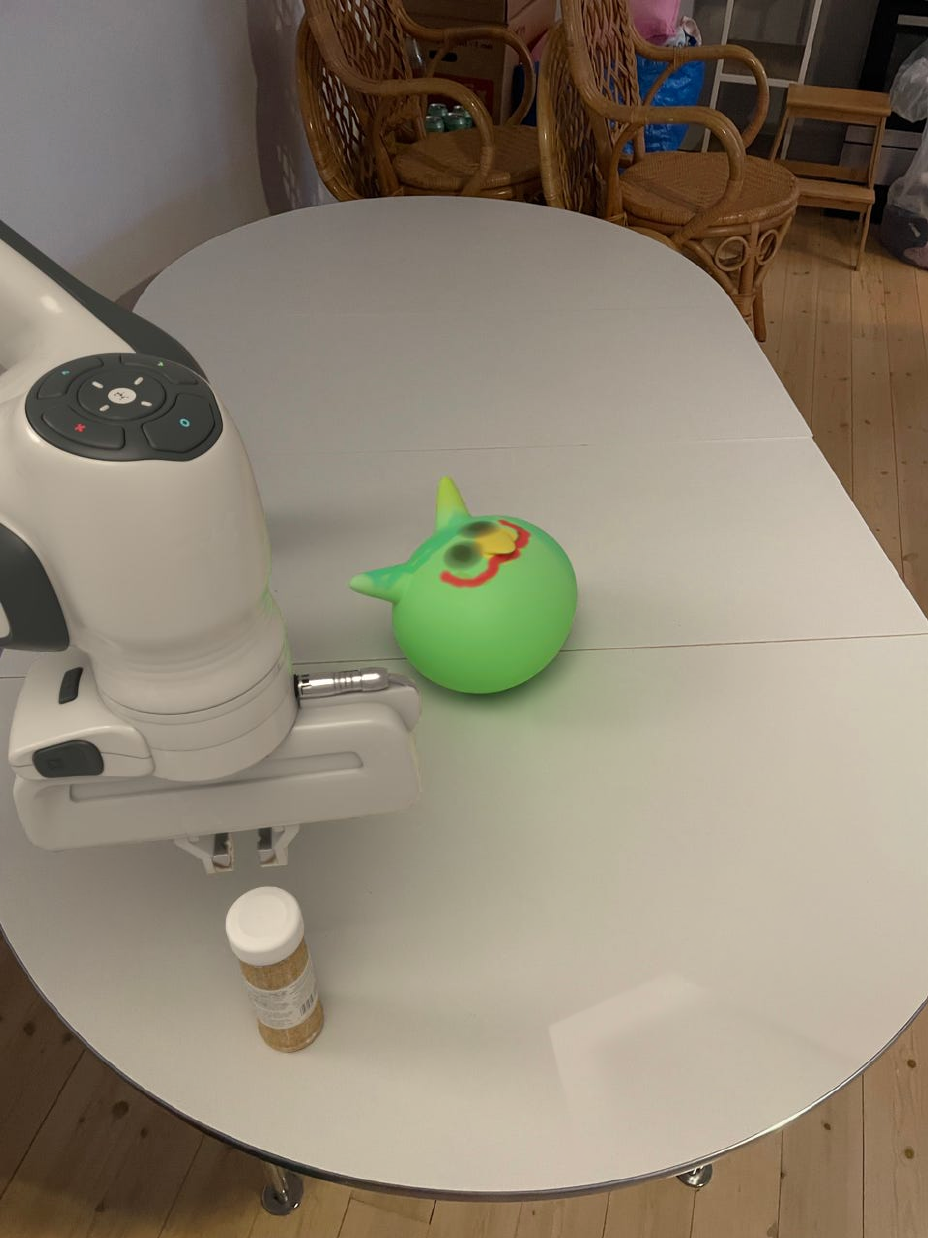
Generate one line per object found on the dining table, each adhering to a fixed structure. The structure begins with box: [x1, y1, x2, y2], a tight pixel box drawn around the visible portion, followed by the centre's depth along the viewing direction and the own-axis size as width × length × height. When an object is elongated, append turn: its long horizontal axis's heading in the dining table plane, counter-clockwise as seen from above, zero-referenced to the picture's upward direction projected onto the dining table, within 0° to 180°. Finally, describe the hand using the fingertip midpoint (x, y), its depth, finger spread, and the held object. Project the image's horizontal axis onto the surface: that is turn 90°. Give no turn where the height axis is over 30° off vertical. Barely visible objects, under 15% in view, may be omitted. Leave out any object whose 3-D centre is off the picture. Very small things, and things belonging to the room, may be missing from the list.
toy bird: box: [348, 475, 579, 694], centre depth 93 cm, size 18×17×15 cm
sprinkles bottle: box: [225, 885, 325, 1053], centre depth 67 cm, size 5×5×13 cm
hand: (248, 859), depth 59 cm, fingers closed
